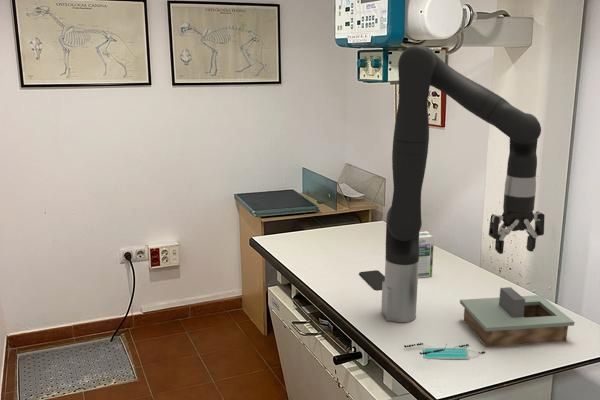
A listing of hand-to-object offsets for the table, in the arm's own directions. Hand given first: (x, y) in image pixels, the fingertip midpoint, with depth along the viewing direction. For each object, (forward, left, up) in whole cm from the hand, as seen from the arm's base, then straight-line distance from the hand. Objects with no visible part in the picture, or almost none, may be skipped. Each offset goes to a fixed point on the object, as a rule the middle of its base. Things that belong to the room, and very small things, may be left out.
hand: (514, 251), depth 157 cm
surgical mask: (-22, -10, -23) cm, 33 cm away
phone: (-27, +38, -23) cm, 52 cm away
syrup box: (-11, +41, -23) cm, 48 cm away
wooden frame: (+1, -1, -23) cm, 23 cm away
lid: (+1, -1, -18) cm, 18 cm away
